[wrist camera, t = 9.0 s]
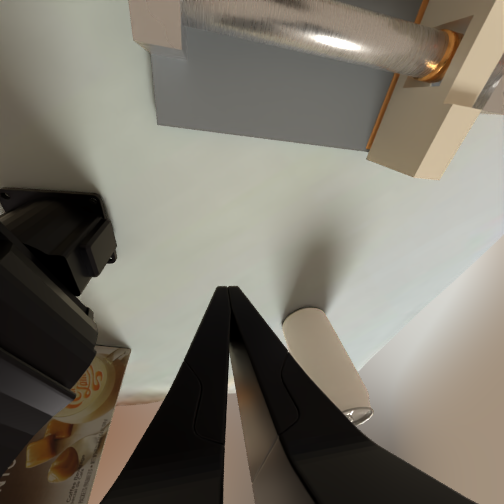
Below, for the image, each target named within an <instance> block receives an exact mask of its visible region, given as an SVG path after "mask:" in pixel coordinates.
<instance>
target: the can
mask: <svg viewBox="0 0 504 504" xmlns="http://www.w3.org/2000/svg"><path fill="white" fill-rule="evenodd" d="M282 330H283V334H284V337H285V340H286V343H287V346H288V349H289V352H290V354H291V355H292V356H293V358H294V359H295V360H296V362H297V363H298V364H299V365H300V366H301V368H302V369H303V370H304V371H305V373H306V374H307V375H308V376H309V377H310V378H311V379H312V380H313V382H314V383H315V384H316V385H317V386H318V387H319V388H320V389H321V390H322V391H323V392H324V393H325V395H326V396H327V397H328V398H329V399H330V400H331V401H332V402H333V403H334V404H335V405H336V406H337V407H338V408H339V409H340V410H341V411H342V413H343V414H344V415H345V416H346V417H347V418H348V419H349V420H350V421H351V422H352V423H353V424H354V425H355V426H357V425H360V424H362V423H363V422H365V421H367V420H368V419H369V418H371V417H372V415H373V414H374V411H373V409H372V408H371V407H370V401H369V394H368V391H367V389H366V387H365V385H364V383H363V382H362V380H361V378H360V376H359V374H358V372H357V370H356V369H355V367H354V365H353V363H352V361H351V359H350V358H349V356H348V354H347V352H346V350H345V349H344V347H343V345H342V343H341V341H340V339H339V338H338V336H337V334H336V332H335V330H334V329H333V327H332V325H331V323H330V321H329V320H328V318H327V316H326V314H325V313H324V312H323V311H322V310H320V309H317V308H313V307H306V308H301V309H299V310H296V311H295V312H293V313H291V314H290V315H289V316H288V317H287V318H286V319H285V321H284V323H283V326H282Z"/></svg>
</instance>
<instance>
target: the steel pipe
mask: <svg viewBox="0 0 504 504" xmlns="http://www.w3.org/2000/svg"><path fill="white" fill-rule="evenodd" d="M128 1H129V9H130V17H131V25H132V33H133V40H134V41H135V42H136V43H137V44H139V45H140V46H141V47H142V48H144V49H145V50H146V51H148V52H149V53H150V54H153V55H159V56H164V57H169V58H174V59H180V60H185V61H187V27H191V28H196V29H200V30H205V31H209V32H214V33H218V34H223V35H227V36H232V37H236V38H241V39H245V40H250V41H254V42H259V43H263V44H267V45H272V46H276V47H281V48H285V49H290V50H294V51H299V52H303V53H308V54H312V55H317V56H321V57H326V58H330V59H335V60H339V61H344V62H348V63H352V64H357V65H361V66H366V67H370V68H375V69H379V70H384V71H388V72H393V73H397V74H402V75H406V76H411V77H413V78H414V79H415V80H418V81H423V82H427V83H436V82H437V83H441V81H442V79H443V77H444V75H445V73H446V71H447V69H448V67H449V65H450V63H451V61H452V59H453V57H454V55H455V53H456V51H457V49H458V47H459V44H460V42H461V40H462V38H463V36H464V35H463V34H462V33H458V32H455V31H451V30H448V29H441V30H437V29H434V28H430V27H427V26H423V25H420V24H416V23H413V22H410V21H406V20H403V19H399V18H396V17H392V16H389V15H385V14H382V13H378V12H375V11H371V10H368V9H364V8H361V7H357V6H354V5H350V4H347V3H344V2H340V1H337V0H128ZM472 108H475V109H480V110H481V112H480V113H479V114H497V115H504V53H503V55H502V56H501V58H500V60H499V62H498V63H497V65H496V67H495V69H494V70H493V72H492V74H491V75H490V77H489V79H488V81H487V82H486V84H485V86H484V88H483V89H482V91H481V93H480V94H479V96H478V98H477V100H476V101H475V103H474V105H473V107H472Z"/></svg>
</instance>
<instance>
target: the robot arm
mask: <svg viewBox="0 0 504 504" xmlns="http://www.w3.org/2000/svg"><path fill="white" fill-rule="evenodd" d="M5 193H6V194H8V195H9V196H10V197H8V196H6V195H5ZM91 198H94V199H96V201H97V202H94V201H92V199H91ZM0 203H1V205H2V207H3V209H4V210H5V213H3V214H2V215H0V478H1V477H2V475H3V474H4V473H5V471H6V470H7V469H8V468H9V466H10V465H11V464H12V462H13V461H14V460H15V459H16V457H17V456H18V455H19V453H20V452H21V451H22V450H23V448H24V447H25V446H26V445H27V444H28V442H29V441H30V440H31V439H32V438H33V436H34V435H35V434H36V433H37V432H38V431H39V430H40V429H41V428H42V427H43V426H44V425H45V424H46V423H47V422H48V421H49V420H50V419H51V418H52V417H53V416H54V415H56V414H57V413H58V412H60V411H61V410H62V409H63V408H65V407H66V406H67V405H68V404H70V403H71V402H72V401H73V400H74V399H75V398H76V393H74V392H73V391H71V389H72V388H73V387H74V386H75V385H76V384H77V382H78V381H79V380H80V378H81V377H82V376H83V375H84V373H85V372H86V371H87V369H88V368H89V367H90V365H91V363H92V361H93V359H94V358H95V356H96V353H97V351H96V349H94V347H95V344H96V340H97V335H98V331H97V327H96V323H95V322H94V321H93V311H92V310H91V309H90V308H89V307H85V306H84V305H83V304H82V303H81V302H80V301H79V300H78V299H77V298H76V297H75V296H80V295H81V293H82V292H83V290H84V289H85V287H86V286H87V284H88V282H89V281H90V279H91V278H92V277H97V276H99V275H100V273H101V272H102V270H103V269H104V267H105V265H106V264H111V263H114V262H115V261H116V259H117V254H116V250H115V249H116V247H117V244H116V240H115V236H114V232H113V228H112V224H111V221H110V220H108V219H107V216H106V212H105V208H104V204H103V200H102V198H101V197H100V196H99V195H98V194H96V193H87V192H71V191H55V190H39V189H23V188H7V187H5V188H1V189H0ZM110 257H111V258H112V259H110ZM229 352H230V358H231V364H232V370H233V376H234V382H235V387H236V393H237V398H238V405H239V411H240V417H241V422H242V429H243V434H244V440H245V446H246V452H247V458H248V464H249V470H250V476H251V481H252V483H253V484H252V488H253V493H254V499H255V504H478V503H475V502H474V501H472V500H470V499H468V498H466V497H464V496H463V495H461V494H460V493H458V492H456V491H454V490H453V489H451V488H449V487H448V486H446V485H444V484H443V483H441V482H439V481H438V480H436V479H434V478H433V477H431V476H429V475H428V474H426V473H424V472H422V471H421V470H419V469H417V468H416V467H414V466H412V465H411V464H409V463H407V462H406V461H404V460H402V459H401V458H399V457H397V456H396V455H394V454H392V453H390V452H389V451H387V450H385V449H384V448H382V447H381V446H379V445H377V444H376V443H374V442H373V441H372V440H371V439H369V438H368V437H367V436H366V435H364V434H363V433H362V432H361V431H360V430H359V429H358V428H357V427H356V426H355V425H354V424H353V423H352V422H351V421H350V420H349V419H348V418H347V417H346V416H345V415H344V414H343V413H342V411H341V410H340V409H339V408H338V407H337V406H336V405H335V404H334V403H333V402H332V401H331V400H330V399H329V398H328V397H327V396H326V395H325V393H324V392H323V391H322V390H321V389H320V388H319V387H318V386H317V385H316V384H315V383H314V382H313V380H312V379H311V378H310V377H309V376H308V375H307V374H306V373H305V371H304V370H303V369H302V368H301V366H300V365H299V364H298V363H297V362H296V360H295V359H294V358H293V356H292V355H291V354H290V353H289V352H288V350H287V349H286V347H285V346H284V345H283V344H282V342H281V341H280V340H279V338H278V337H277V336H276V334H275V333H274V332H273V331H272V329H271V328H270V327H269V325H268V324H267V323H266V322H265V320H264V319H263V318H262V316H261V315H260V314H259V312H258V311H257V310H256V309H255V307H254V306H253V305H252V303H251V302H250V301H249V300H248V298H247V297H246V296H245V294H244V293H243V292H242V291H241V289H240V288H239V287H238V286H229V287H228V288H227V286H218V287H217V288H216V290H215V292H214V294H213V296H212V299H211V301H210V303H209V305H208V308H207V310H206V312H205V314H204V316H203V319H202V321H201V323H200V325H199V328H198V330H197V332H196V334H195V336H194V339H193V341H192V343H191V345H190V348H189V350H188V352H187V354H186V356H185V359H184V362H183V363H182V365H181V367H180V369H179V372H178V374H177V376H176V378H175V380H174V382H173V384H172V386H171V388H170V390H169V392H168V394H167V395H166V397H165V399H164V401H163V403H162V405H161V406H160V408H159V410H158V412H157V413H156V415H155V417H154V419H153V420H152V422H151V423H150V425H149V427H148V428H147V430H146V432H145V433H144V435H143V437H142V439H141V440H140V442H139V444H138V445H137V447H136V449H135V450H134V452H133V454H132V455H131V457H130V459H129V461H128V462H127V464H126V465H125V467H124V468H123V470H122V472H121V473H120V475H119V476H118V478H117V479H116V481H115V483H114V484H113V486H112V487H111V488H110V490H109V491H108V493H107V494H106V495H105V497H104V498H103V500H102V501H101V502H100V504H223V481H224V480H223V479H224V453H225V447H224V446H225V431H226V410H227V390H228V369H229Z"/></svg>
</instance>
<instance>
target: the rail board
mask: <svg viewBox="0 0 504 504" xmlns="http://www.w3.org/2000/svg"><path fill="white" fill-rule="evenodd" d="M337 1H340V2H344V3H347V4H350V5H354V6H357V7H361V8H364V9H368V10H371V11H375V12H378V13H382V14H385V15H389V16H392V17H396V18H399V19H403V20H406V21H410V22H413V23H416V24H420V23H421V20H422V18H423V15H424V13H425V10H426V7H427V5H428V2H429V0H337ZM463 35H464V34H463ZM151 63H152V73H153V84H154V95H155V105H156V116H157V125H163V126H170V127H178V128H186V129H194V130H202V131H209V132H217V133H225V134H233V135H240V136H248V137H256V138H264V139H272V140H279V141H287V142H295V143H303V144H311V145H318V146H326V147H334V148H342V149H350V150H357V151H365V152H369V151H370V148H371V146H372V143H373V141H374V138H375V136H376V133H377V131H378V128H379V126H380V123H381V121H382V118H383V116H384V113H385V111H386V108H387V106H388V103H389V101H390V98H391V96H392V93H393V91H394V88H395V85H396V83H397V80H398V78H399V75H400V74H397V73H393V72H388V71H384V70H379V69H375V68H370V67H366V66H361V65H357V64H352V63H348V62H344V61H339V60H335V59H330V58H326V57H321V56H317V55H312V54H308V53H303V52H299V51H294V50H290V49H285V48H281V47H276V46H272V45H267V44H263V43H259V42H254V41H250V40H245V39H241V38H236V37H232V36H227V35H223V34H218V33H214V32H209V31H205V30H200V29H196V28H191V27H187V61H185V60H180V59H174V58H169V57H164V56H159V55H153V54H151ZM434 86H440V83H437V82H436V83H432V84H431V86H430V87H434Z"/></svg>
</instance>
